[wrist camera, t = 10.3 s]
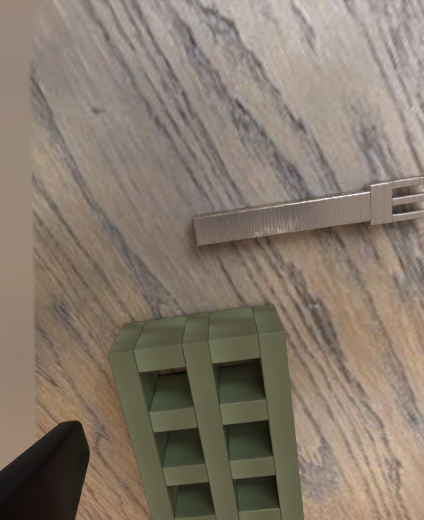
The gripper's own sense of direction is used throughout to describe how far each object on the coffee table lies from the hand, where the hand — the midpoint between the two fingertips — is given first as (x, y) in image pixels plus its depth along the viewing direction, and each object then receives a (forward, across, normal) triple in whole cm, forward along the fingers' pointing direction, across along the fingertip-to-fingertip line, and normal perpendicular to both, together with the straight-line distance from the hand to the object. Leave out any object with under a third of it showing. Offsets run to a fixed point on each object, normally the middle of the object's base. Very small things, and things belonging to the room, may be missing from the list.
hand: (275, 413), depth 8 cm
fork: (+12, +2, -2) cm, 13 cm away
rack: (+13, +3, +10) cm, 17 cm away
